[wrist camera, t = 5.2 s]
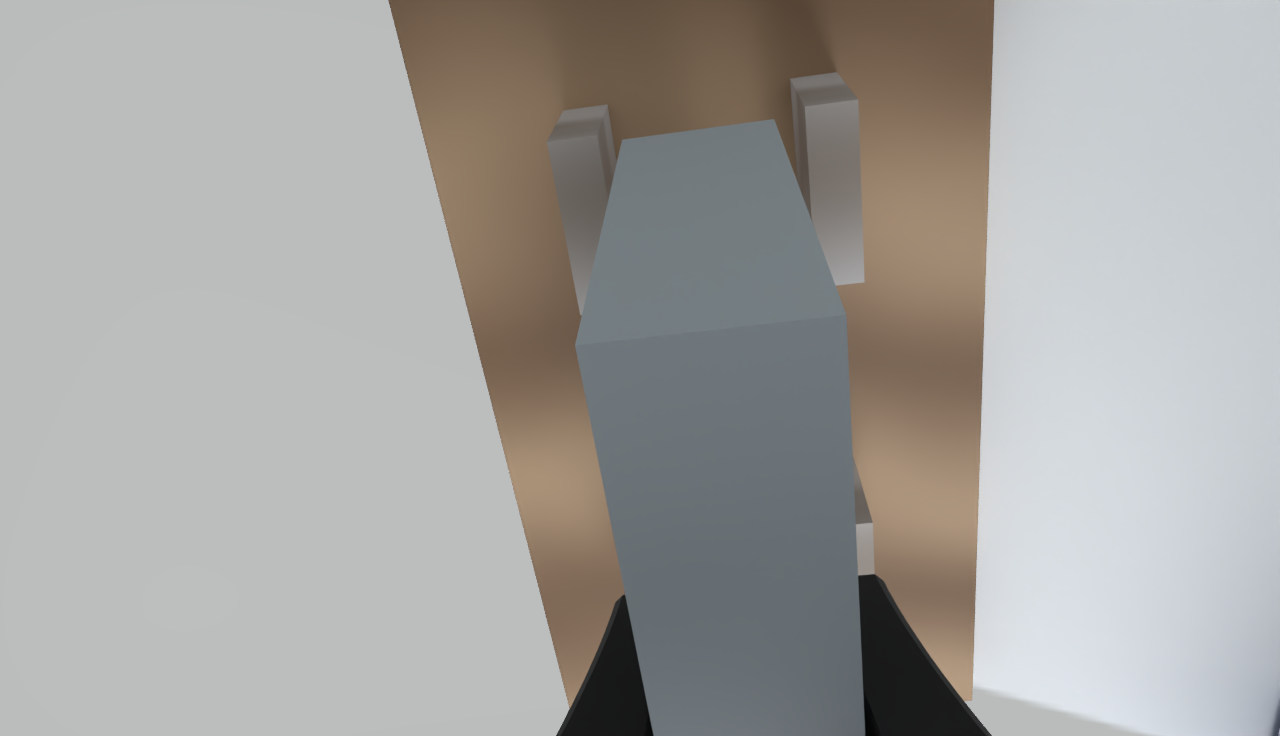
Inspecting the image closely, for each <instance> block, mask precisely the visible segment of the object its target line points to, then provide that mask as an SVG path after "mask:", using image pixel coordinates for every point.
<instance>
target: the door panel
mask: <svg viewBox="0 0 1280 736" xmlns="http://www.w3.org/2000/svg"><path fill="white" fill-rule="evenodd" d="M575 348H576V353H577V358H578V363H579V368H580V373H581V378H582V382H583V387H584V392H585V397H586V402H587V407H588V412H589V417H590V422H591V427H592V432H593V437H594V442H595V447H596V452H597V457H598V462H599V467H600V472H601V477H602V482H603V487H604V492H605V497H606V502H607V507H608V512H609V517H610V522H611V527H612V532H613V537H614V542H615V547H616V551H617V556H618V561H619V566H620V571H621V576H622V581H623V586H624V591H625V596H626V601H627V606H628V611H629V616H630V621H631V626H632V631H633V636H634V641H635V646H636V651H637V656H638V661H639V666H640V671H641V676H642V681H643V686H644V691H645V696H646V701H647V706H648V711H649V715H650V720H651V725H652V730H653V735H654V736H865V719H864V696H863V674H862V652H861V629H860V607H859V585H858V563H857V540H856V518H855V496H854V473H853V451H852V429H851V407H850V384H849V362H848V340H847V318H846V312H845V310H844V307H843V304H842V302H841V299H840V296H839V293H838V291H837V288H836V285H835V283H834V280H833V277H832V274H831V272H830V269H829V266H828V264H827V261H826V258H825V256H824V253H823V250H822V247H821V245H820V242H819V239H818V237H817V234H816V231H815V228H814V226H813V223H812V220H811V218H810V215H809V212H808V210H807V207H806V204H805V201H804V199H803V196H802V193H801V191H800V188H799V185H798V182H797V180H796V177H795V174H794V172H793V169H792V166H791V163H790V161H789V158H788V155H787V153H786V150H785V147H784V145H783V142H782V139H781V136H780V134H779V131H778V128H777V126H776V123H775V120H774V119H770V120H763V121H756V122H748V123H741V124H734V125H726V126H719V127H712V128H704V129H697V130H690V131H682V132H675V133H668V134H660V135H653V136H646V137H638V138H631V139H624V140H622V143H621V147H620V151H619V156H618V160H617V164H616V169H615V173H614V177H613V182H612V186H611V191H610V195H609V199H608V204H607V208H606V212H605V217H604V221H603V226H602V230H601V234H600V239H599V243H598V247H597V252H596V256H595V260H594V265H593V269H592V274H591V278H590V282H589V287H588V291H587V295H586V300H585V304H584V309H583V313H582V317H581V322H580V326H579V330H578V335H577V339H576V343H575Z"/></svg>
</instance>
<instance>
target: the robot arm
mask: <svg viewBox="0 0 1280 736" xmlns="http://www.w3.org/2000/svg"><path fill="white" fill-rule="evenodd" d="M858 585H859V607H860V629H861V652H862V674H863V696H864V719H865V736H992V735H991V734H990V733H989V732H988V731H987V729H986V728H985V727H984V726H983V724H982V723H981V722H980V721H979V720H978V718H977V717H976V716H975V715H974V713H973V712H972V711H971V710H970V708H969V707H968V706H967V704H966V703H965V702H964V700H963V699H962V698H961V697H960V695H959V694H958V693H957V691H956V690H955V689H954V687H953V686H952V685H951V683H950V682H949V681H948V680H947V678H946V677H945V676H944V674H943V673H942V672H941V670H940V669H939V667H938V666H937V665H936V663H935V662H934V661H933V659H932V658H931V656H930V655H929V654H928V652H927V651H926V649H925V648H924V646H923V645H922V643H921V642H920V640H919V639H918V637H917V636H916V634H915V633H914V631H913V630H912V628H911V627H910V625H909V624H908V622H907V621H906V619H905V617H904V616H903V614H902V613H901V611H900V609H899V608H898V606H897V604H896V603H895V601H894V599H893V597H892V596H891V594H890V592H889V590H888V588H887V586H886V584H885V582H884V581H883V580H882V579H881V578H879V577H878V576H877V575H875V574H870V575H858ZM556 736H654V735H653V730H652V725H651V720H650V715H649V711H648V706H647V701H646V696H645V691H644V686H643V681H642V676H641V671H640V666H639V661H638V656H637V651H636V646H635V641H634V636H633V631H632V626H631V621H630V616H629V611H628V606H627V601H626V596H625V595H622V596H621V597H620V598H619V599H618V600H617V601H616V602H615V605H614V608H613V611H612V614H611V617H610V619H609V622H608V625H607V627H606V630H605V633H604V635H603V638H602V640H601V643H600V645H599V647H598V650H597V652H596V654H595V657H594V659H593V661H592V663H591V666H590V668H589V670H588V672H587V675H586V677H585V679H584V681H583V683H582V685H581V687H580V689H579V691H578V693H577V695H576V697H575V699H574V701H573V703H572V705H571V707H570V710H569V711H568V714H567V716H566V718H565V720H564V722H563V724H562V726H561V728H560V730H559V731H558V733H557V735H556ZM1278 736H1280V730H1279V734H1278Z"/></svg>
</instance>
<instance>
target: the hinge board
mask: <svg viewBox="0 0 1280 736" xmlns="http://www.w3.org/2000/svg"><path fill="white" fill-rule="evenodd" d="M389 4H390V8H391V12H392V16H393V19H394V23H395V27H396V31H397V35H398V39H399V43H400V47H401V51H402V54H403V58H404V63H405V67H406V70H407V74H408V78H409V82H410V86H411V90H412V94H413V98H414V102H415V106H416V110H417V113H418V117H419V121H420V125H421V129H422V133H423V137H424V141H425V145H426V148H427V153H428V156H429V160H430V164H431V168H432V172H433V176H434V180H435V183H436V188H437V191H438V196H439V199H440V203H441V207H442V211H443V215H444V219H445V223H446V227H447V230H448V234H449V239H450V242H451V246H452V250H453V254H454V258H455V262H456V266H457V270H458V273H459V278H460V281H461V285H462V289H463V293H464V297H465V301H466V305H467V308H468V313H469V316H470V321H471V325H472V328H473V332H474V336H475V340H476V344H477V348H478V352H479V356H480V360H481V364H482V367H483V371H484V375H485V379H486V383H487V387H488V391H489V395H490V399H491V402H492V407H493V411H494V414H495V418H496V422H497V426H498V430H499V434H500V438H501V442H502V446H503V449H504V453H505V457H506V461H507V465H508V469H509V473H510V477H511V480H512V485H513V489H514V493H515V497H516V500H517V504H518V508H519V512H520V516H521V520H522V524H523V528H524V532H525V535H526V539H527V543H528V547H529V551H530V555H531V559H532V563H533V567H534V571H535V575H536V579H537V583H538V586H539V590H540V594H541V598H542V602H543V606H544V610H545V614H546V618H547V622H548V626H549V629H550V633H551V637H552V641H553V645H554V649H555V653H556V657H557V661H558V664H559V669H560V672H561V676H562V680H563V684H564V688H565V692H566V696H567V700H568V703H569V708H570V707H571V705H572V703H573V701H574V699H575V697H576V695H577V693H578V691H579V689H580V687H581V685H582V683H583V681H584V679H585V677H586V675H587V672H588V670H589V668H590V666H591V663H592V661H593V659H594V657H595V654H596V652H597V650H598V647H599V645H600V643H601V640H602V638H603V635H604V633H605V630H606V627H607V625H608V622H609V619H610V617H611V614H612V611H613V608H614V605H615V602H616V601H617V600H618V599H619V598H620V597H621V596H622V595H625V591H624V586H623V581H622V576H621V571H620V566H619V561H618V556H617V551H616V547H615V542H614V537H613V532H612V527H611V522H610V517H609V512H608V507H607V502H606V497H605V492H604V487H603V482H602V477H601V472H600V467H599V462H598V457H597V452H596V447H595V442H594V437H593V432H592V427H591V422H590V417H589V412H588V407H587V402H586V397H585V392H584V387H583V382H582V378H581V373H580V368H579V363H578V358H577V353H576V348H575V343H576V339H577V335H578V330H579V326H580V322H581V317H582V313H583V309H584V304H585V300H586V295H587V291H588V287H589V282H590V278H591V274H592V269H593V265H594V260H595V256H596V252H597V247H598V243H599V239H600V234H601V230H602V226H603V221H604V217H605V212H606V208H607V204H608V199H609V195H610V191H611V186H612V182H613V177H614V173H615V169H616V164H617V160H618V156H619V151H620V147H621V143H622V140H624V139H631V138H638V137H646V136H653V135H660V134H668V133H675V132H682V131H690V130H697V129H704V128H712V127H719V126H726V125H734V124H741V123H748V122H756V121H763V120H770V119H774V120H775V123H776V126H777V128H778V131H779V134H780V136H781V139H782V142H783V145H784V147H785V150H786V153H787V155H788V158H789V161H790V163H791V166H792V169H793V172H794V174H795V177H796V180H797V182H798V185H799V188H800V191H801V193H802V196H803V199H804V201H805V204H806V207H807V210H808V212H809V215H810V218H811V220H812V223H813V226H814V228H815V231H816V234H817V237H818V239H819V242H820V245H821V247H822V250H823V253H824V256H825V258H826V261H827V264H828V266H829V269H830V272H831V274H832V277H833V280H834V283H835V285H836V288H837V291H838V293H839V296H840V299H841V302H842V304H843V307H844V310H845V312H846V318H847V340H848V362H849V384H850V407H851V429H852V451H853V473H854V496H855V518H856V540H857V563H858V575H870V574H875V575H877V576H878V577H879V578H881V579H882V580H883V581H884V582H885V584H886V586H887V588H888V590H889V592H890V594H891V596H892V597H893V599H894V601H895V603H896V604H897V606H898V608H899V609H900V611H901V613H902V614H903V616H904V617H905V619H906V621H907V622H908V624H909V625H910V627H911V628H912V630H913V631H914V633H915V634H916V636H917V637H918V639H919V640H920V642H921V643H922V645H923V646H924V648H925V649H926V651H927V652H928V654H929V655H930V656H931V658H932V659H933V661H934V662H935V663H936V665H937V666H938V667H939V669H940V670H941V672H942V673H943V674H944V676H945V677H946V678H947V680H948V681H949V682H950V683H951V685H952V686H953V687H954V689H955V690H956V691H957V693H958V694H959V695H960V697H961V698H962V699H963V700H964V701H971V700H972V686H973V654H974V623H975V591H976V560H977V528H978V496H979V465H980V433H981V401H982V370H983V338H984V307H985V275H986V243H987V212H988V180H989V148H990V117H991V85H992V54H993V22H994V0H389Z"/></svg>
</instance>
